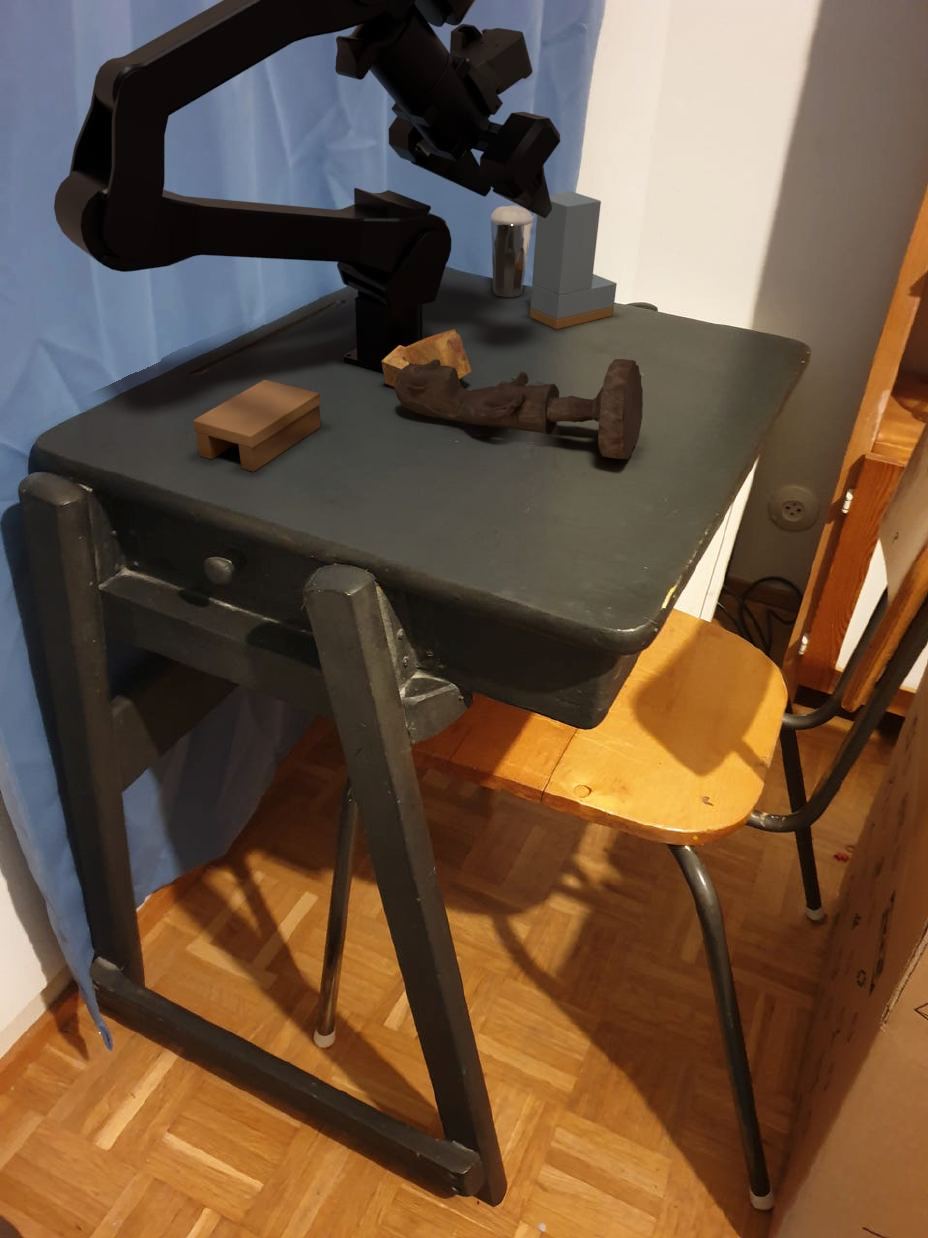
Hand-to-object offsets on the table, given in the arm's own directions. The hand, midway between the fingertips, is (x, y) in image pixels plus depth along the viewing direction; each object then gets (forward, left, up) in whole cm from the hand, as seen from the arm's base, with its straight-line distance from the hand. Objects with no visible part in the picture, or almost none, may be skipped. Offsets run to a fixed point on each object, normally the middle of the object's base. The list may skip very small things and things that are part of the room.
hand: (516, 202), depth 88 cm
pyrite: (-15, +1, -10) cm, 18 cm away
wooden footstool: (-33, +4, -12) cm, 36 cm away
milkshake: (+11, +6, -12) cm, 17 cm away
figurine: (-18, -21, -9) cm, 29 cm away
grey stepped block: (+8, -3, -12) cm, 15 cm away
